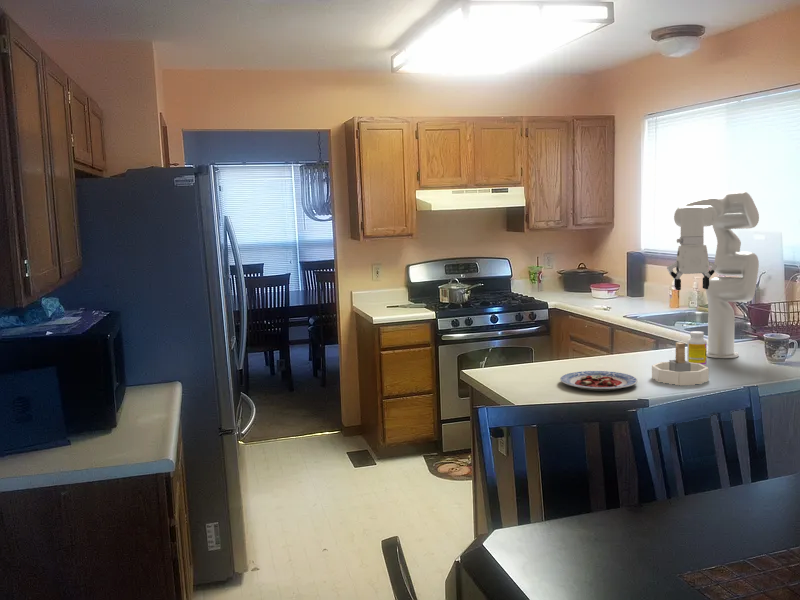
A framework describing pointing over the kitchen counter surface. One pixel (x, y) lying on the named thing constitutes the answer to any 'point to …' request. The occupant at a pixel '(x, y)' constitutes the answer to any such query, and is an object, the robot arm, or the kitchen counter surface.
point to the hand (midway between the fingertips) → (691, 289)
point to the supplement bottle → (697, 348)
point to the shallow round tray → (680, 373)
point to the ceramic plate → (599, 380)
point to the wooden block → (680, 352)
